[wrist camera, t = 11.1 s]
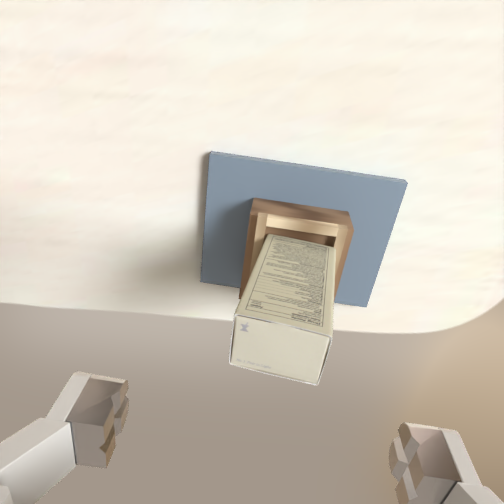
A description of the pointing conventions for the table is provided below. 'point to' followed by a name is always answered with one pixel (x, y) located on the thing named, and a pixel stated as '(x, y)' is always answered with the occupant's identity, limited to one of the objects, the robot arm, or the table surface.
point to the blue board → (305, 193)
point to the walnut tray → (296, 231)
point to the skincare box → (286, 311)
